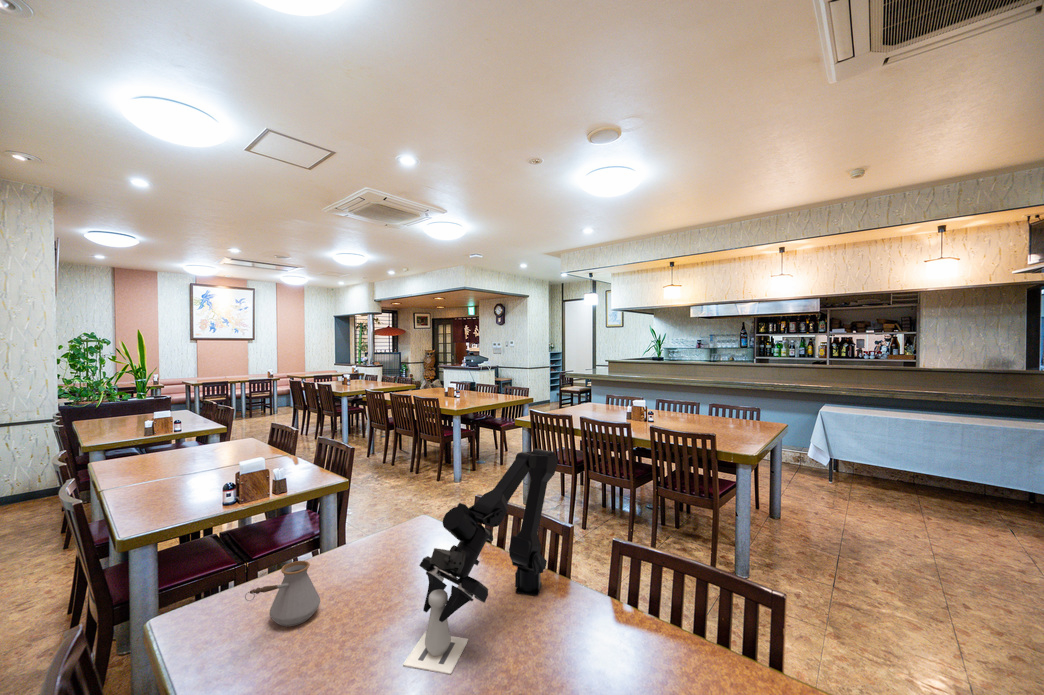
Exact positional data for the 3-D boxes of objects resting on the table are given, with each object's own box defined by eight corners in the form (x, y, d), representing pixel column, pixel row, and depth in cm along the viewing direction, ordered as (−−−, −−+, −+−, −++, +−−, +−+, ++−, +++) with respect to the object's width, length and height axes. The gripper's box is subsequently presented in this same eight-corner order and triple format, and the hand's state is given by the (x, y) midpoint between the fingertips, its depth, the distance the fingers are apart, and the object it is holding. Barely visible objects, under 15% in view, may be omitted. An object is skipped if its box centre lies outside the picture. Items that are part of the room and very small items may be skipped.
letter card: (468, 640, 102) (468, 638, 102) (450, 674, 91) (450, 673, 91) (425, 633, 104) (425, 631, 104) (402, 666, 94) (402, 664, 94)
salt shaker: (451, 657, 96) (451, 598, 96) (424, 661, 94) (425, 601, 95) (449, 640, 101) (450, 584, 101) (424, 643, 100) (425, 587, 100)
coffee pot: (290, 601, 117) (290, 546, 117) (329, 605, 115) (329, 549, 115) (224, 657, 96) (225, 590, 96) (271, 663, 94) (271, 594, 94)
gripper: (425, 523, 107) (386, 586, 98) (479, 545, 95) (439, 620, 86) (449, 543, 113) (414, 605, 104) (503, 567, 101) (468, 639, 92)
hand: (432, 616), depth 97 cm, fingers open, 5 cm apart
